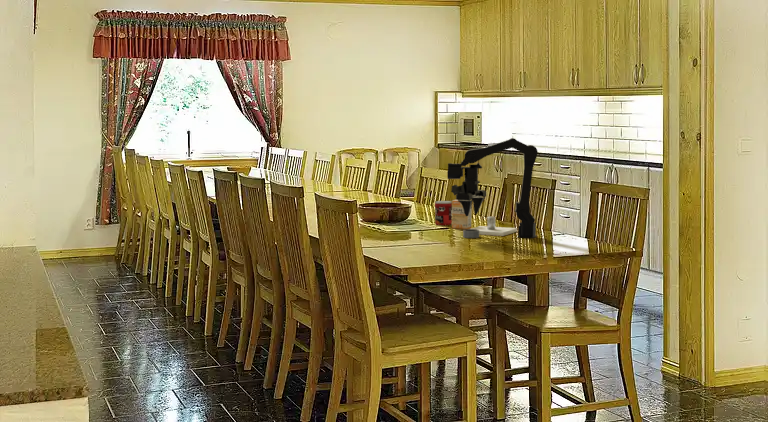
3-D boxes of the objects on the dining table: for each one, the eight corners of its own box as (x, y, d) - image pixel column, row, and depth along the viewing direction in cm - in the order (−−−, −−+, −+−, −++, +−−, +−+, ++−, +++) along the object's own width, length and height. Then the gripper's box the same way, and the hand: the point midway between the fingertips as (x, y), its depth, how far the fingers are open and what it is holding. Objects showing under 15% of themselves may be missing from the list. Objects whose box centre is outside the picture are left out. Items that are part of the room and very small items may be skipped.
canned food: (432, 224, 456) (432, 201, 455) (446, 223, 460) (446, 200, 459) (439, 225, 450) (439, 202, 448) (454, 224, 453) (454, 201, 452)
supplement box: (451, 228, 440) (451, 200, 438) (455, 227, 444) (455, 199, 443) (467, 229, 436) (467, 201, 434) (471, 228, 440) (471, 200, 439)
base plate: (516, 231, 427) (516, 228, 427) (502, 235, 414) (502, 232, 413) (480, 229, 436) (480, 225, 436) (465, 233, 423) (465, 230, 422)
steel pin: (496, 228, 425) (496, 216, 425) (493, 229, 422) (493, 217, 422) (489, 228, 427) (489, 216, 427) (486, 229, 424) (486, 217, 424)
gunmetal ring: (481, 236, 413) (481, 229, 412) (475, 238, 407) (475, 231, 406) (467, 235, 416) (467, 228, 416) (460, 237, 410) (460, 230, 410)
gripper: (463, 176, 421) (463, 211, 422) (444, 180, 405) (445, 216, 406) (486, 177, 415) (486, 212, 417) (468, 180, 399) (468, 217, 401)
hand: (471, 214), depth 410 cm, fingers open, 9 cm apart
